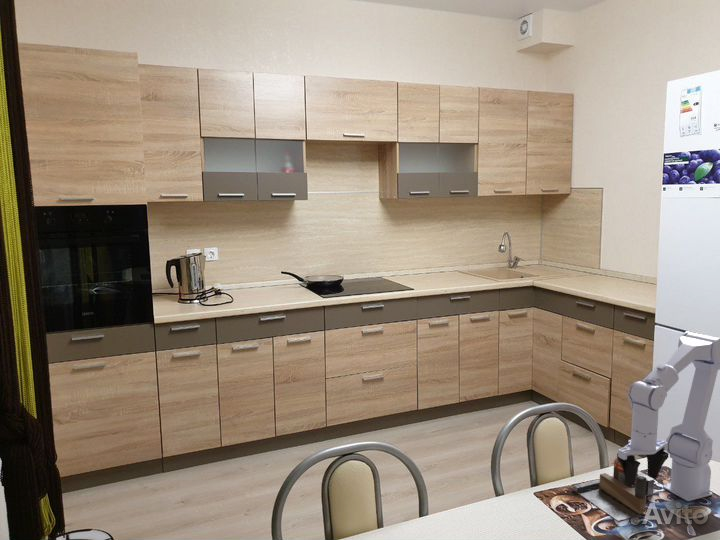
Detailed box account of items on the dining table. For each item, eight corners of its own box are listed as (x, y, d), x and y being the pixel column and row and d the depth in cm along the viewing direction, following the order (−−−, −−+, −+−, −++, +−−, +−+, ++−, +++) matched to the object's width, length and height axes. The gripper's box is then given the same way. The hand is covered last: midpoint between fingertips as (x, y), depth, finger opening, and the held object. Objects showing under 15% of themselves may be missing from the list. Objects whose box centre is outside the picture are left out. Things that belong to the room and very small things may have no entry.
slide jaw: (605, 486, 152) (607, 455, 151) (646, 512, 139) (648, 479, 138) (598, 487, 151) (600, 457, 150) (639, 514, 138) (641, 481, 137)
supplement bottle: (639, 498, 146) (641, 459, 145) (615, 496, 148) (617, 457, 146) (633, 487, 152) (635, 449, 151) (610, 485, 153) (612, 447, 152)
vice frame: (624, 477, 157) (625, 463, 157) (672, 506, 143) (673, 490, 142) (573, 490, 151) (573, 475, 150) (618, 521, 136) (619, 504, 136)
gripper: (652, 419, 143) (649, 467, 145) (609, 427, 138) (607, 478, 140) (676, 429, 137) (672, 480, 138) (632, 439, 132) (629, 491, 133)
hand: (641, 480), depth 139 cm, fingers open, 7 cm apart
